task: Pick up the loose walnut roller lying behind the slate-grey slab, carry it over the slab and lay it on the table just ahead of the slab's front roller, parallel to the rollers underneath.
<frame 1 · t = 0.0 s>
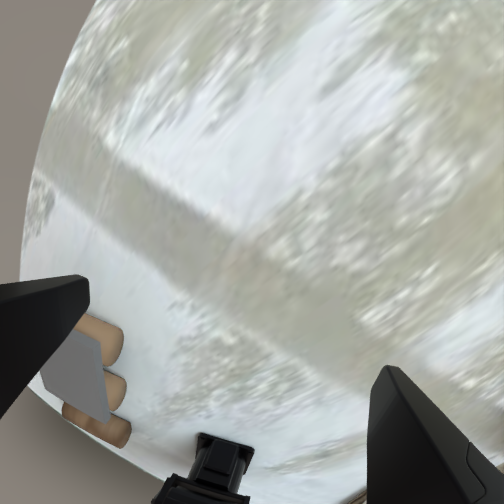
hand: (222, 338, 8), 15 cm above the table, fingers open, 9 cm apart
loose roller: (95, 421, 33), point 2 cm above the table
slab on rollers: (91, 347, 30), on the table
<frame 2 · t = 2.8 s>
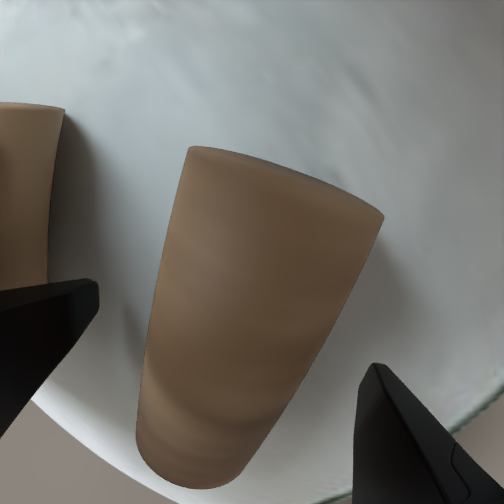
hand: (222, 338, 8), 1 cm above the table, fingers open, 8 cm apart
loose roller: (226, 351, 8), point 2 cm above the table, tilted 7°
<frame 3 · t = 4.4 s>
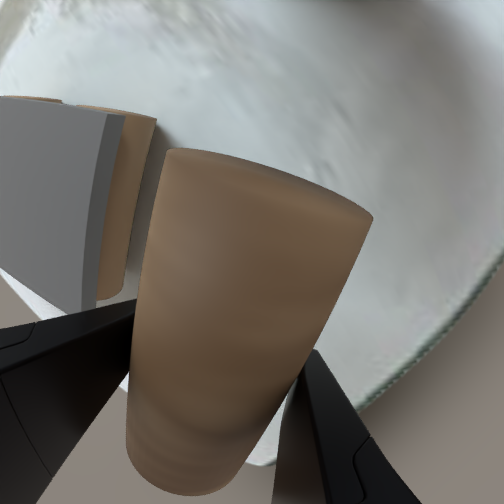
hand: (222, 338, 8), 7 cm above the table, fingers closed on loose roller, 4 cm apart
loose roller: (212, 358, 7), point 8 cm above the table, touching gripper
slab on rollers: (75, 178, 16), on the table
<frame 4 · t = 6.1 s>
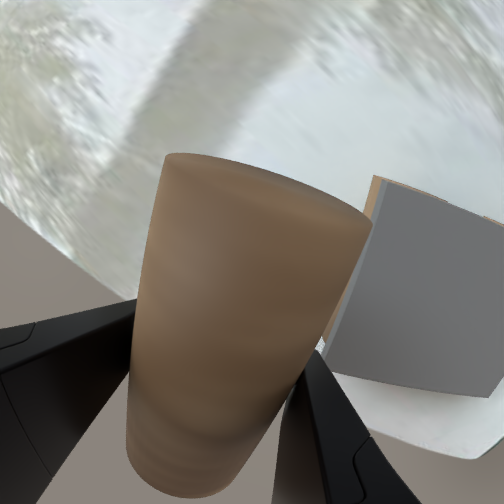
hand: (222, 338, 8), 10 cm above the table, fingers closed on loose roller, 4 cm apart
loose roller: (212, 362, 7), point 11 cm above the table, touching gripper
slab on rollers: (428, 274, 17), on the table
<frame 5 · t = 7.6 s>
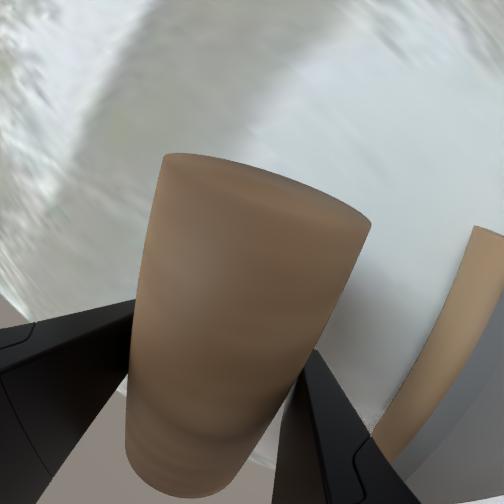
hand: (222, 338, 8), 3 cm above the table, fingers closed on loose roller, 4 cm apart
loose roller: (211, 363, 7), point 4 cm above the table, touching gripper
when the fingers open (2 cm above the table, at t = 8.6 s): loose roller drops 1 cm, point 2 cm above the table.
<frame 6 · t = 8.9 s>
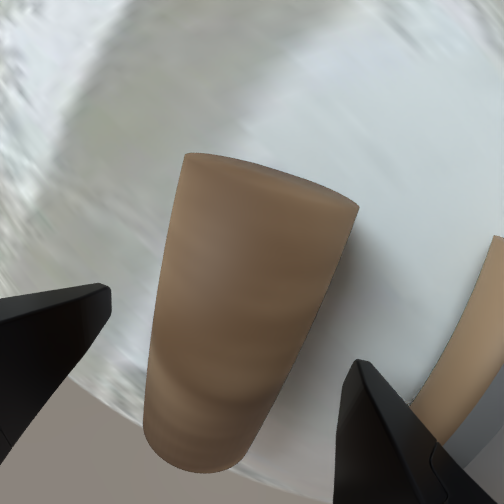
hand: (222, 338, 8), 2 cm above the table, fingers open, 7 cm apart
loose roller: (224, 338, 8), point 2 cm above the table
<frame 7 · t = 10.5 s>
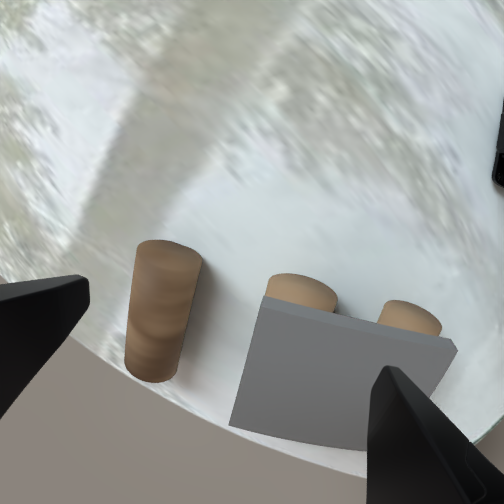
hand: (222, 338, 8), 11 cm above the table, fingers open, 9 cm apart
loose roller: (158, 315, 20), point 2 cm above the table
slab on rollers: (334, 347, 20), on the table
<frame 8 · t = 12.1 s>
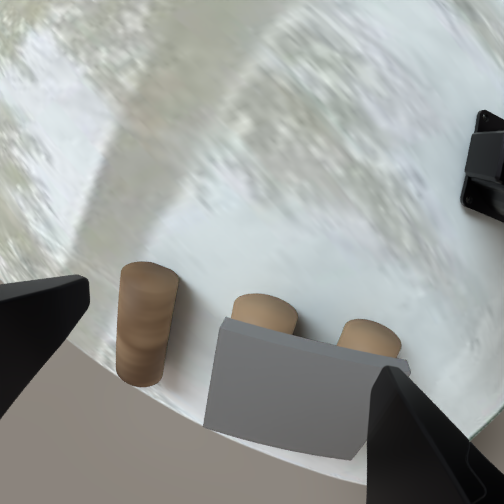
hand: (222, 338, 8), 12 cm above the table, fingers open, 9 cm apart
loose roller: (143, 328, 22), point 2 cm above the table
slab on rollers: (303, 359, 22), on the table
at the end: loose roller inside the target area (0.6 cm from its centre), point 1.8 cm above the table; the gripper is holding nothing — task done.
